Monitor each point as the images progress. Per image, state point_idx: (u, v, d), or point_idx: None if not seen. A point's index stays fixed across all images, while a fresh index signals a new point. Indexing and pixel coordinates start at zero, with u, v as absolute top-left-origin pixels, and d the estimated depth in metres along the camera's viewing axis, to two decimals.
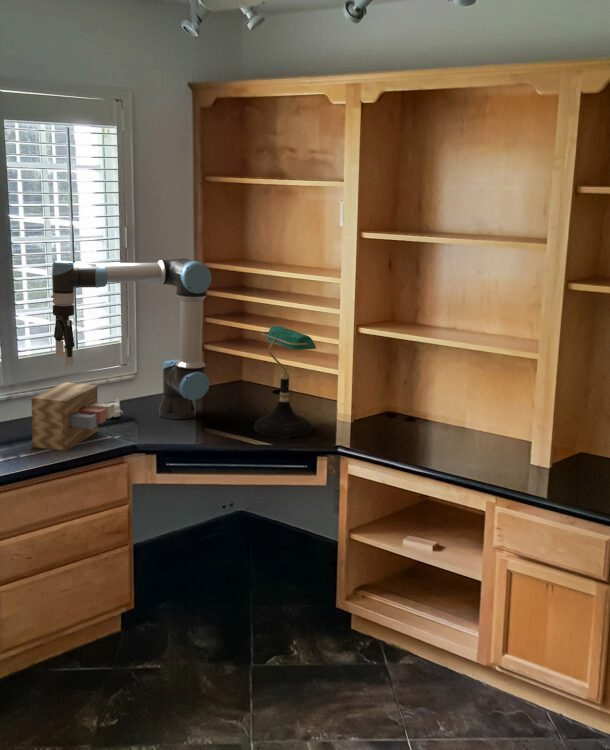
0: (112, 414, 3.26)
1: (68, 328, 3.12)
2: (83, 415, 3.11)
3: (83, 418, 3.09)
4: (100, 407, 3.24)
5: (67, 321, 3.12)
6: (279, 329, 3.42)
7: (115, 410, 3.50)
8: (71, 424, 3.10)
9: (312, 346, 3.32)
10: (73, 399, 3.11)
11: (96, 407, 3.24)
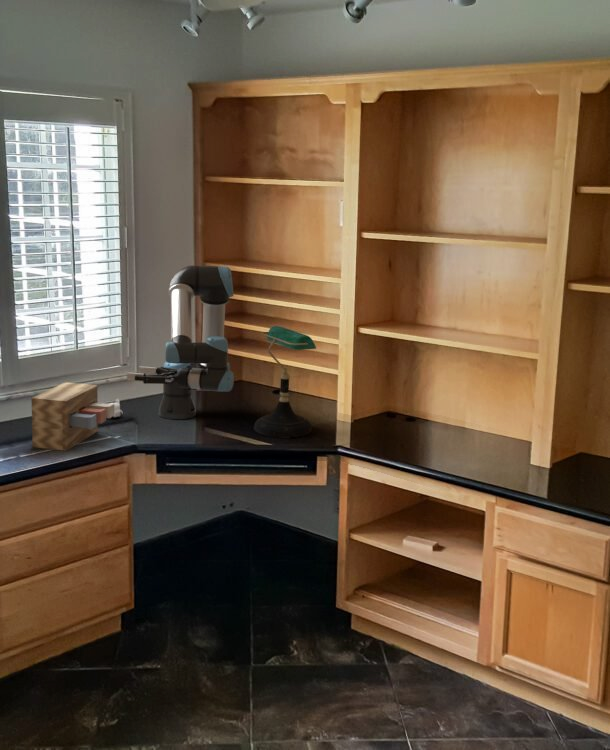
0: (112, 414, 3.26)
1: None
2: (83, 415, 3.11)
3: (83, 418, 3.09)
4: (100, 407, 3.24)
5: None
6: (279, 329, 3.42)
7: (115, 410, 3.50)
8: (71, 424, 3.10)
9: (312, 346, 3.32)
10: (73, 399, 3.11)
11: (96, 407, 3.24)
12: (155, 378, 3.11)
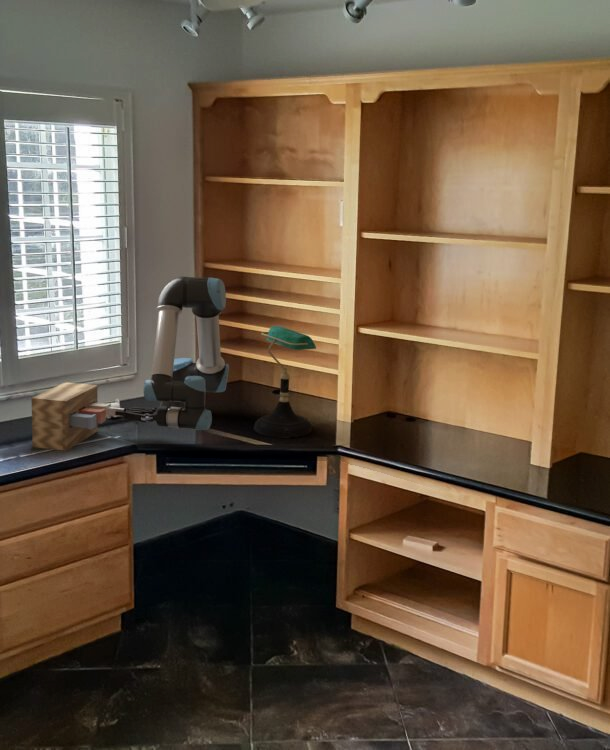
0: None
1: None
2: (83, 415, 3.11)
3: (83, 418, 3.09)
4: (96, 407, 3.24)
5: None
6: (279, 329, 3.42)
7: None
8: (71, 424, 3.10)
9: (312, 346, 3.32)
10: (73, 399, 3.11)
11: (92, 407, 3.25)
12: (132, 415, 3.19)
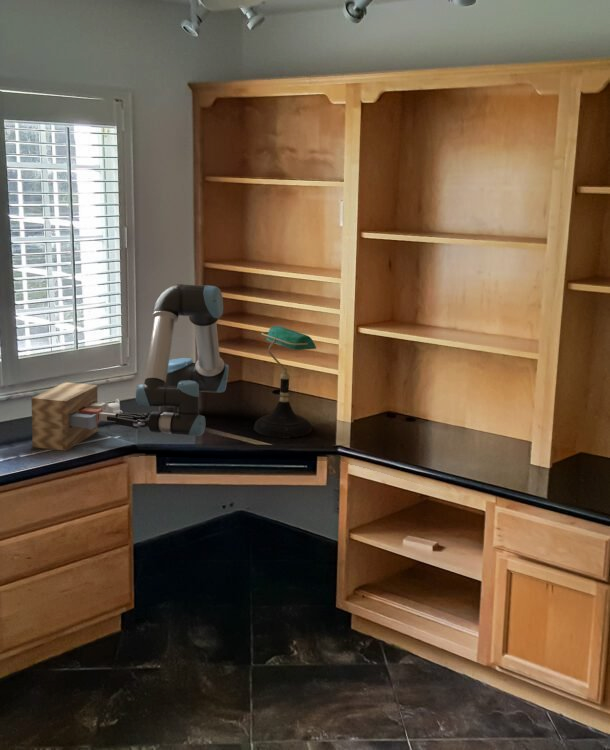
0: None
1: None
2: (83, 415, 3.11)
3: (83, 418, 3.09)
4: (92, 406, 3.25)
5: None
6: (279, 329, 3.42)
7: (115, 410, 3.50)
8: (71, 424, 3.10)
9: (312, 346, 3.32)
10: (73, 399, 3.11)
11: None
12: (124, 420, 3.11)
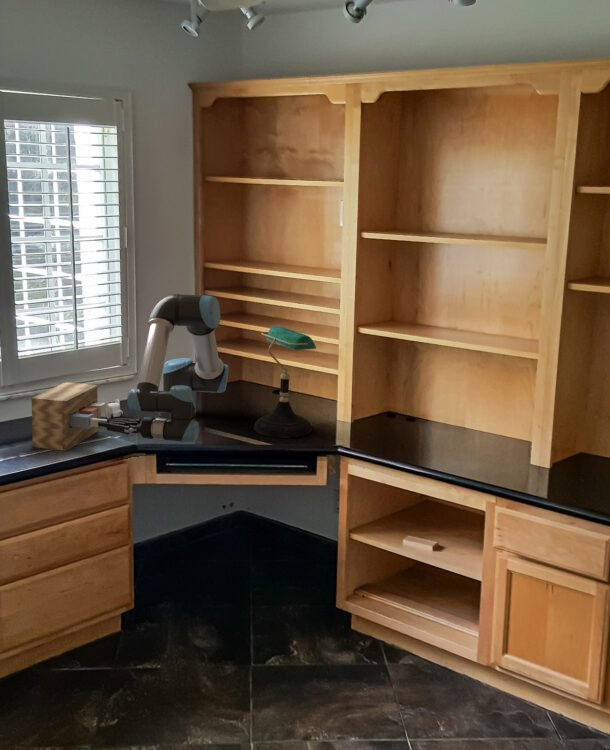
0: (104, 413, 3.27)
1: None
2: (80, 415, 3.11)
3: (80, 418, 3.09)
4: (92, 406, 3.25)
5: None
6: (279, 329, 3.42)
7: (115, 410, 3.50)
8: None
9: (312, 346, 3.32)
10: (73, 399, 3.11)
11: None
12: (115, 426, 3.04)
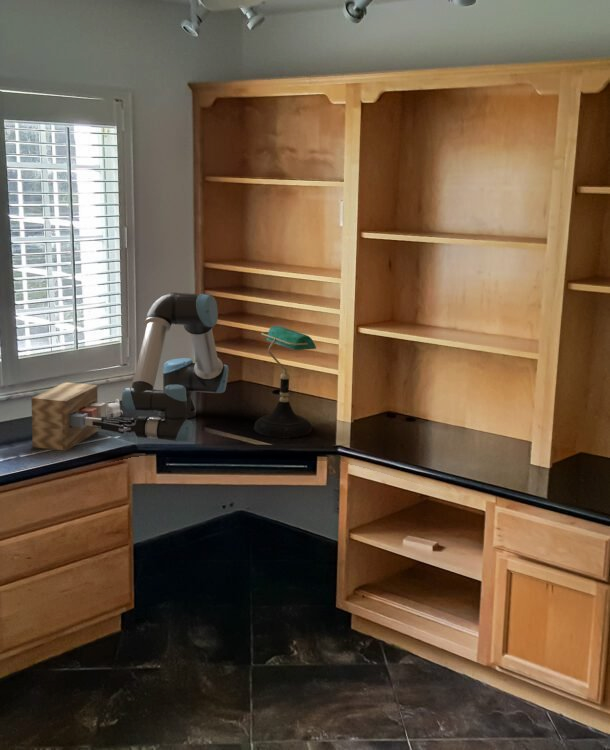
0: (104, 413, 3.27)
1: None
2: (74, 414, 3.11)
3: (74, 417, 3.09)
4: (92, 406, 3.25)
5: None
6: (279, 329, 3.42)
7: (115, 410, 3.50)
8: None
9: (312, 346, 3.32)
10: (73, 399, 3.11)
11: None
12: (110, 425, 3.04)
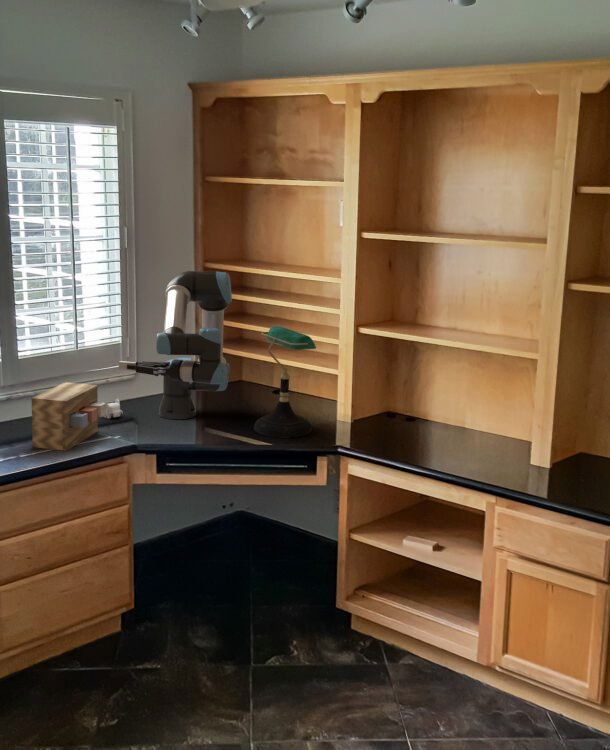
0: (104, 413, 3.27)
1: None
2: (74, 414, 3.11)
3: (74, 417, 3.09)
4: (92, 406, 3.25)
5: None
6: (279, 329, 3.42)
7: (115, 410, 3.50)
8: None
9: (312, 346, 3.32)
10: (73, 399, 3.11)
11: None
12: (144, 368, 3.05)
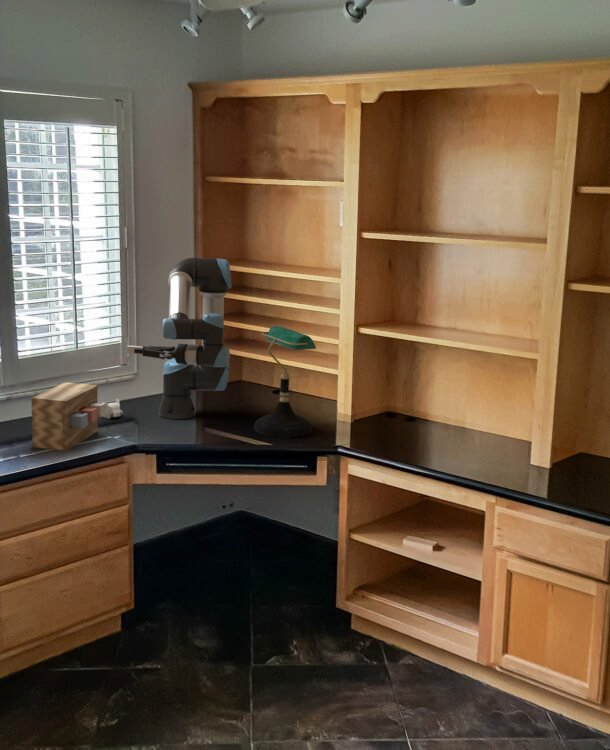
0: (104, 413, 3.27)
1: None
2: (74, 414, 3.11)
3: (74, 417, 3.09)
4: (92, 406, 3.25)
5: None
6: (279, 329, 3.42)
7: (115, 410, 3.50)
8: None
9: (312, 346, 3.32)
10: (73, 399, 3.11)
11: None
12: (151, 352, 3.22)
